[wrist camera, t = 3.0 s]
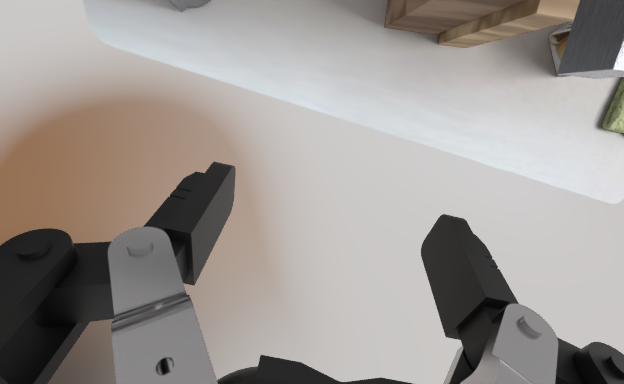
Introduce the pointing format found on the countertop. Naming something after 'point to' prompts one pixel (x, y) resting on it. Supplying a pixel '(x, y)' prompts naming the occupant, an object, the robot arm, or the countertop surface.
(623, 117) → the washcloth
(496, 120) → the countertop surface
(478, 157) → the countertop surface
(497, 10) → the stand
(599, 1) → the gray metal block
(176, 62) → the countertop surface
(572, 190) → the countertop surface
